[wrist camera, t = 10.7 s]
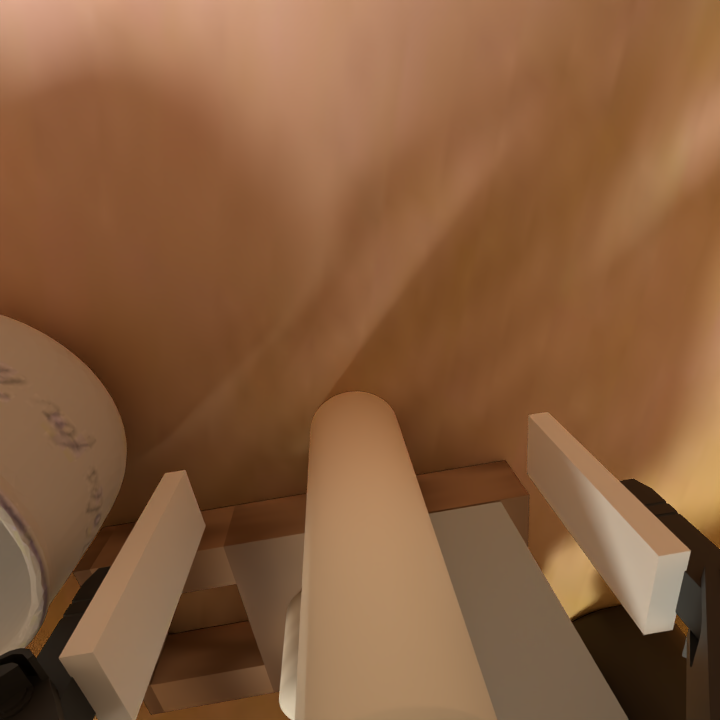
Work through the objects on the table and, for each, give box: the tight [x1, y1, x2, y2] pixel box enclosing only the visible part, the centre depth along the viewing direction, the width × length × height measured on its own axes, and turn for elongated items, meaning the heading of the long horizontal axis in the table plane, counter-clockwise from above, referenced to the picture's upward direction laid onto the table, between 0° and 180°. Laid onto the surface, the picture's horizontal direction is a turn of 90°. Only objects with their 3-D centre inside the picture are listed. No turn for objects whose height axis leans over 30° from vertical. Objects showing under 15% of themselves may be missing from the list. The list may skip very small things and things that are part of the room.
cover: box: [429, 502, 629, 720], centre depth 15 cm, size 8×10×9 cm
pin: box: [295, 391, 497, 720], centre depth 13 cm, size 4×4×12 cm
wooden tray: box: [73, 461, 529, 720], centre depth 19 cm, size 20×10×6 cm, turn 97°
